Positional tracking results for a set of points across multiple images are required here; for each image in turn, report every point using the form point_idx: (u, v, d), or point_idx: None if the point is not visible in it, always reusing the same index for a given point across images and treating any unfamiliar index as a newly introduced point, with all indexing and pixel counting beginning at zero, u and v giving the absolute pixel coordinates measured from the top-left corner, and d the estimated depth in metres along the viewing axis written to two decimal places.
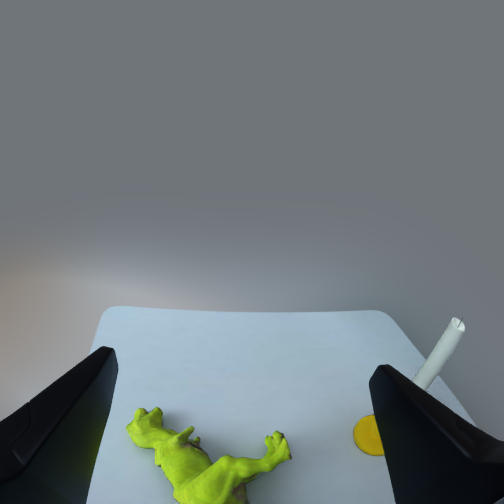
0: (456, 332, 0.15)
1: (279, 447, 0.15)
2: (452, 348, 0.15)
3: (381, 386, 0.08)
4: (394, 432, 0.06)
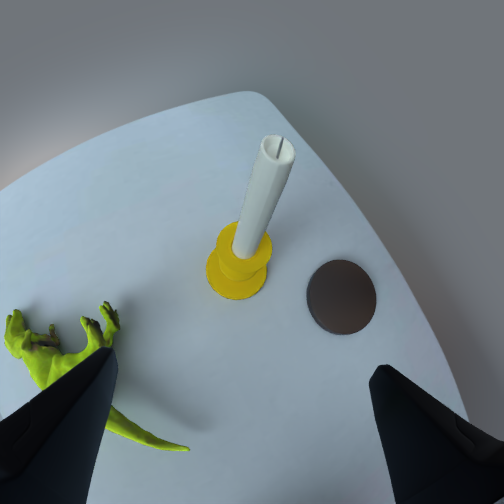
0: (270, 165, 0.10)
1: (87, 337, 0.14)
2: (273, 188, 0.11)
3: (381, 386, 0.08)
4: (394, 432, 0.06)
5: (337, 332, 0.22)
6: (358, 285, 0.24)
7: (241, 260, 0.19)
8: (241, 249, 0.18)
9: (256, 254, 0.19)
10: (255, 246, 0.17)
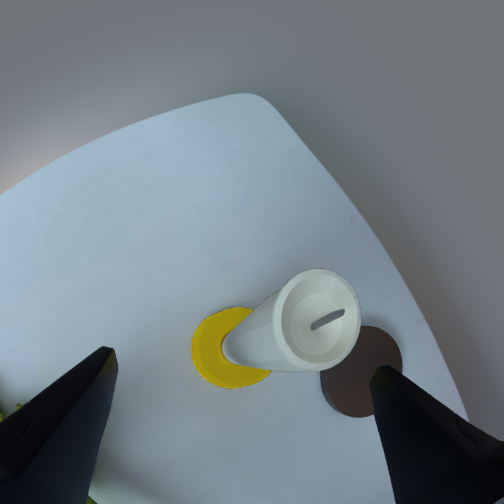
0: None
1: None
2: None
3: (381, 386, 0.08)
4: (394, 432, 0.06)
5: (355, 416, 0.16)
6: (383, 357, 0.18)
7: (235, 367, 0.12)
8: (235, 363, 0.11)
9: None
10: None
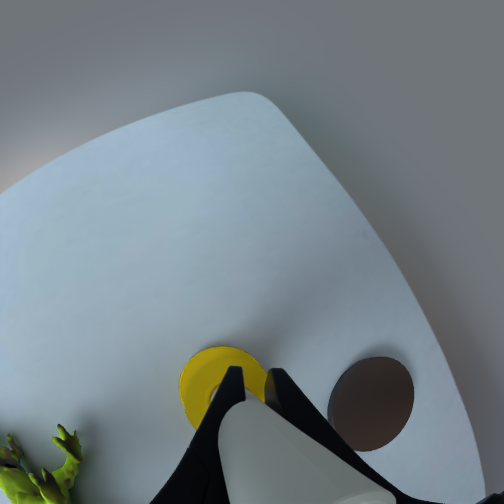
0: None
1: (43, 497, 0.05)
2: None
3: (269, 392, 0.07)
4: None
5: (363, 450, 0.14)
6: (395, 388, 0.15)
7: None
8: None
9: None
10: None
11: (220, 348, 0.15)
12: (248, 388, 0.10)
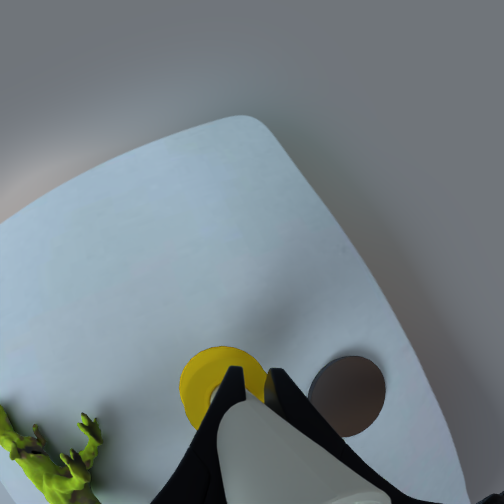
0: None
1: (71, 474, 0.09)
2: None
3: (269, 392, 0.07)
4: None
5: None
6: (367, 383, 0.19)
7: None
8: None
9: None
10: None
11: (219, 348, 0.15)
12: (247, 388, 0.10)
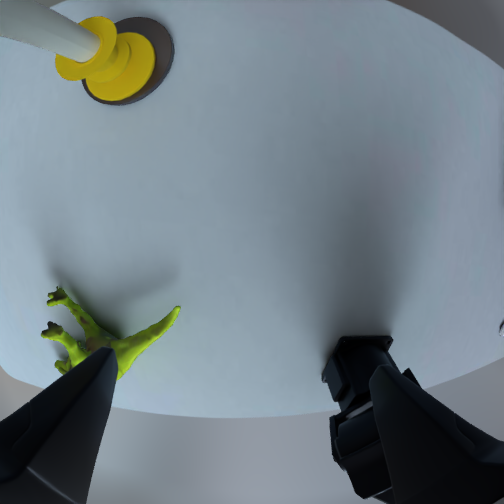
0: None
1: (54, 340, 0.16)
2: None
3: (381, 386, 0.08)
4: (394, 432, 0.06)
5: (152, 87, 0.15)
6: None
7: (94, 57, 0.09)
8: (78, 53, 0.08)
9: (101, 38, 0.09)
10: (82, 36, 0.07)
11: None
12: None
